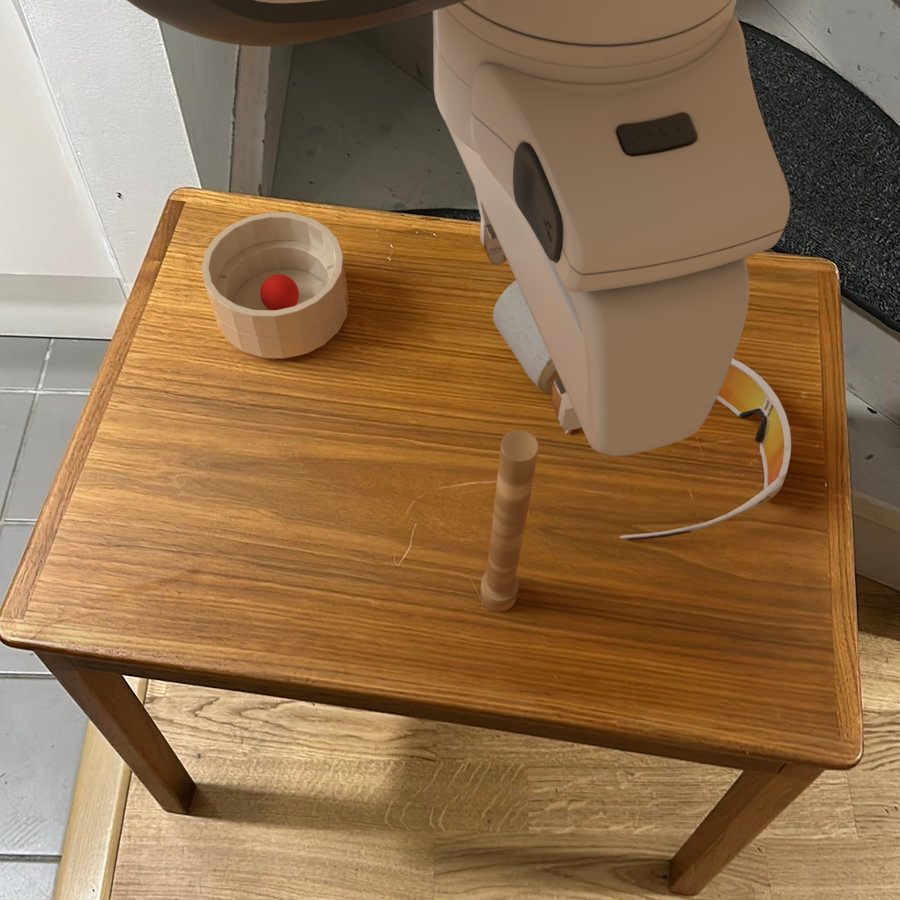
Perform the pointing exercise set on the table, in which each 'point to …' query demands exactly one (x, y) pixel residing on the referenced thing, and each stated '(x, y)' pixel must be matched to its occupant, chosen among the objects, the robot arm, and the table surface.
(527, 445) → the stir stick
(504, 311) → the ceramic mug
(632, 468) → the table surface
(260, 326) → the bowl
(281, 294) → the red ball
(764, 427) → the sunglasses
